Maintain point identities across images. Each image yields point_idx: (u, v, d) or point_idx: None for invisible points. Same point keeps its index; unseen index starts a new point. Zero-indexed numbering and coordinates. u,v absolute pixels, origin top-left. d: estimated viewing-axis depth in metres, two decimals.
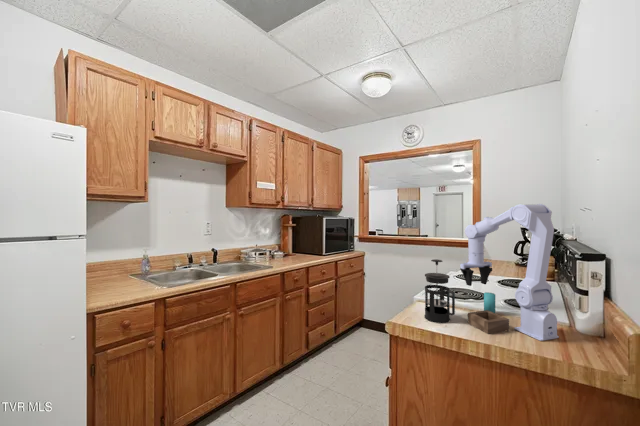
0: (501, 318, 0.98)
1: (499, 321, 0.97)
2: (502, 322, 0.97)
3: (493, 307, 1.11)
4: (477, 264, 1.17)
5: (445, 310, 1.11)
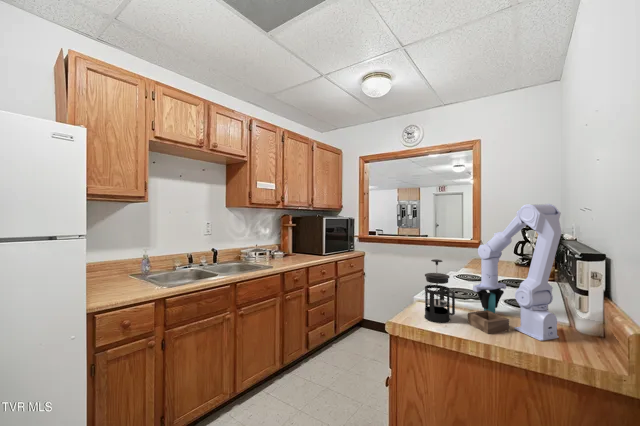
0: (501, 318, 0.98)
1: (499, 321, 0.97)
2: (502, 322, 0.97)
3: (493, 307, 1.11)
4: (491, 287, 1.10)
5: (445, 310, 1.11)
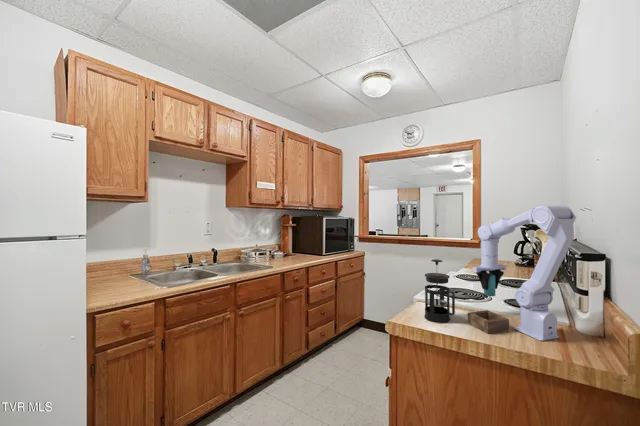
0: (501, 318, 0.98)
1: (499, 321, 0.97)
2: (502, 322, 0.97)
3: (493, 288, 1.11)
4: (491, 267, 1.10)
5: (445, 310, 1.11)
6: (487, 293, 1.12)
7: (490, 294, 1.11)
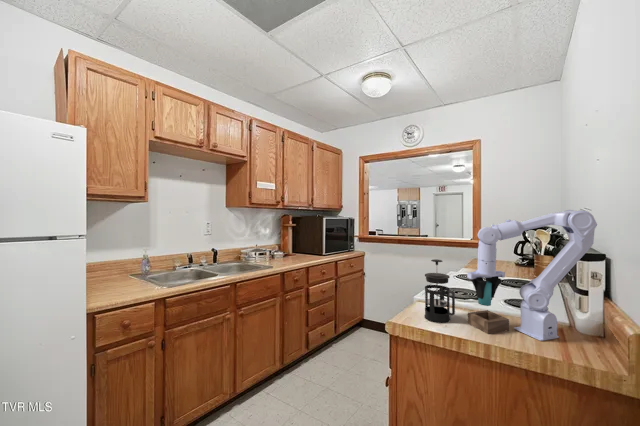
0: (501, 318, 0.98)
1: (499, 321, 0.97)
2: (502, 322, 0.97)
3: (488, 297, 1.00)
4: (488, 274, 0.98)
5: (445, 310, 1.11)
6: (481, 302, 1.01)
7: (485, 303, 1.00)
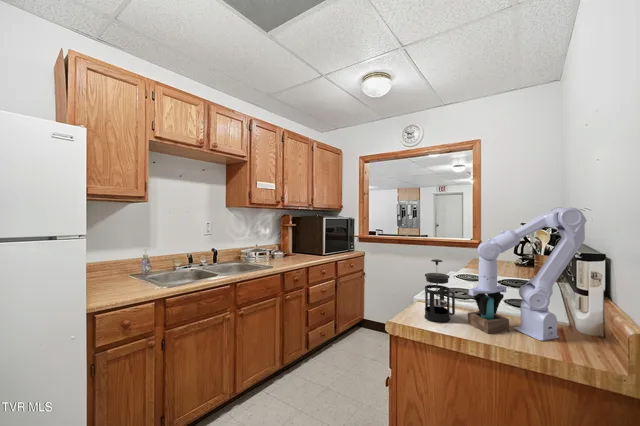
0: (501, 318, 0.98)
1: (499, 321, 0.97)
2: (502, 322, 0.97)
3: (491, 313, 0.99)
4: (489, 290, 0.98)
5: (445, 310, 1.11)
6: (484, 318, 1.00)
7: None
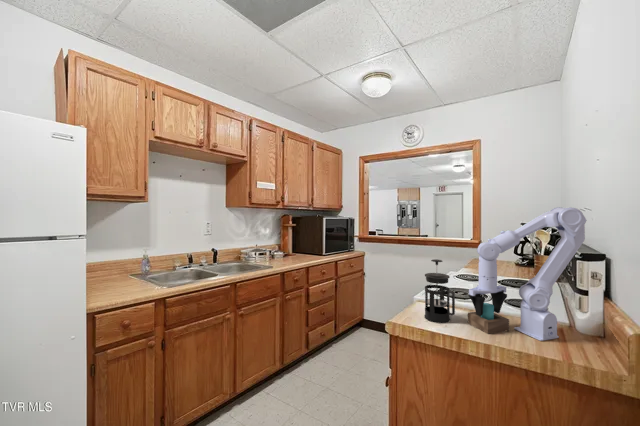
0: (501, 318, 0.98)
1: (499, 321, 0.97)
2: (502, 322, 0.97)
3: None
4: (489, 290, 0.98)
5: (445, 310, 1.11)
6: None
7: None
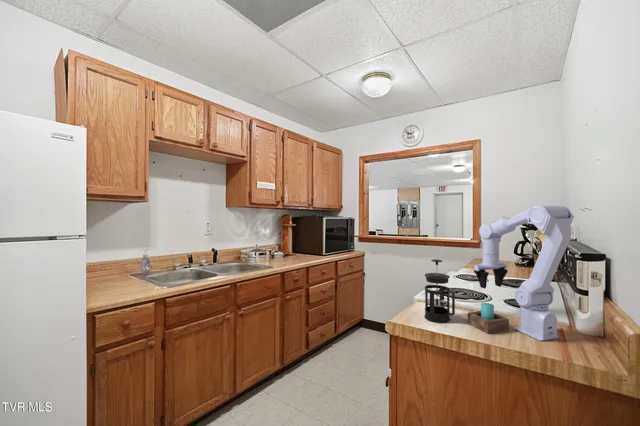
0: (501, 318, 0.98)
1: (499, 321, 0.97)
2: (502, 322, 0.97)
3: None
4: (492, 266, 1.11)
5: (445, 310, 1.11)
6: None
7: None
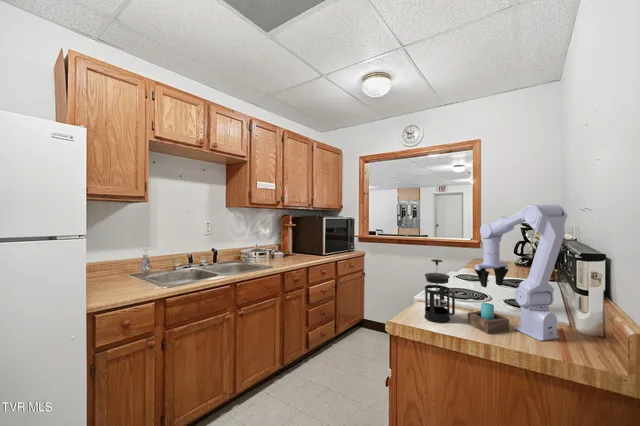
0: (501, 318, 0.98)
1: (499, 321, 0.97)
2: (502, 322, 0.97)
3: None
4: (493, 265, 1.13)
5: (445, 310, 1.11)
6: None
7: None
